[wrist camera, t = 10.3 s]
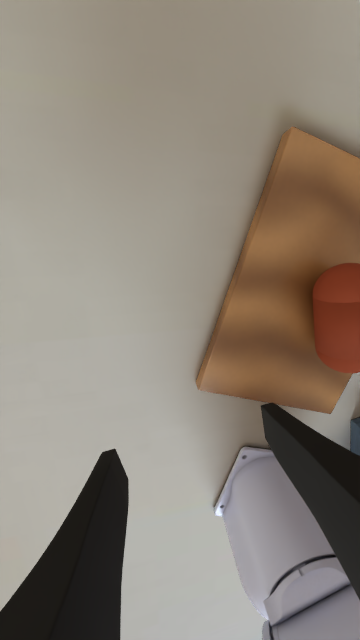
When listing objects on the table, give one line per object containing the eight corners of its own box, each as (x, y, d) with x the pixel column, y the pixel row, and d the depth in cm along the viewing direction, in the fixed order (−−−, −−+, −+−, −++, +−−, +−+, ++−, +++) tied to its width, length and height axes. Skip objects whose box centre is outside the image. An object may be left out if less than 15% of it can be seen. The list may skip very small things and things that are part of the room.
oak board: (322, 406, 24) (330, 414, 23) (195, 382, 21) (198, 390, 20) (429, 202, 19) (447, 199, 18) (282, 133, 16) (292, 125, 15)
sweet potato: (339, 350, 21) (393, 369, 18) (304, 367, 20) (354, 392, 16) (338, 256, 19) (403, 255, 15) (298, 270, 17) (356, 273, 14)
